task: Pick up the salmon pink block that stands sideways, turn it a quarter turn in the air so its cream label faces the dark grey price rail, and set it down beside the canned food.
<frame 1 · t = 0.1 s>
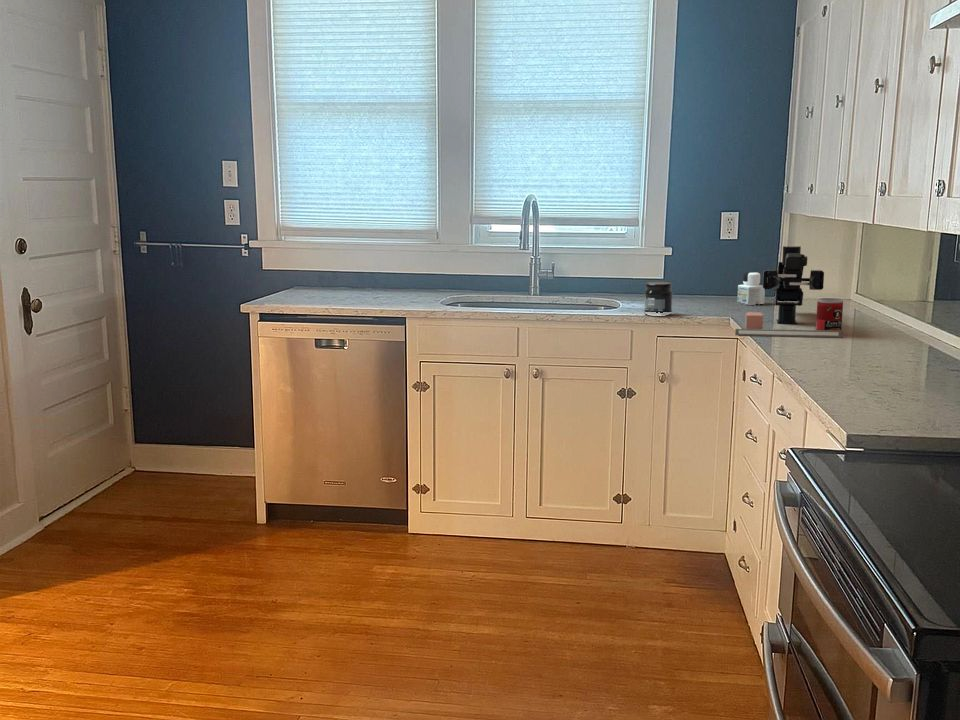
hand: (795, 282, 283), 17 cm above the countertop, tool horizontal, fingers open, 9 cm apart
canned food: (828, 334, 285), on the countertop
price rail: (787, 336, 282), on the countertop
supplement container: (657, 315, 335), on the countertop
salmon pink block: (753, 332, 292), on the countertop
container: (750, 304, 360), on the countertop
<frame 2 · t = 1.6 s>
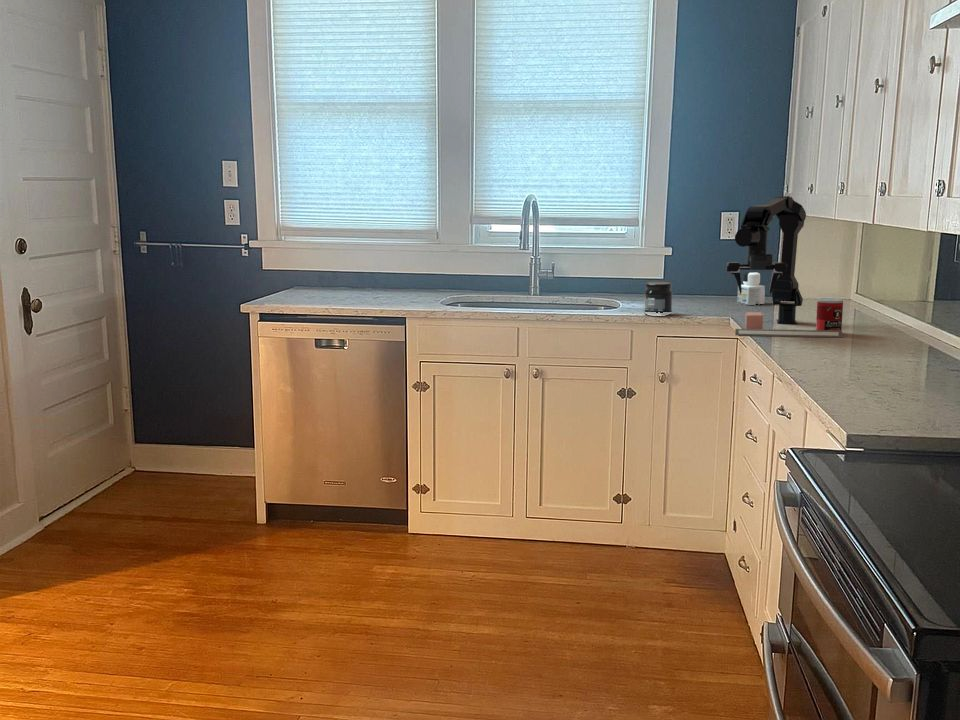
hand: (755, 293, 289), 13 cm above the countertop, tool pointing down, fingers open, 9 cm apart
nothing on the countertop moved.
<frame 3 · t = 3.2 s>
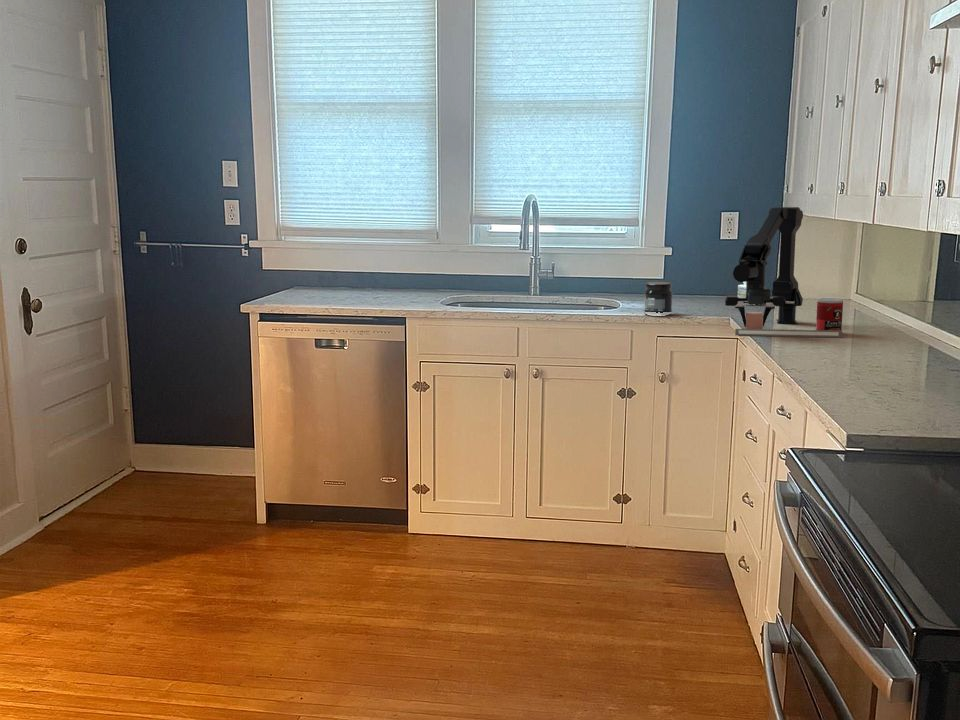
hand: (753, 327, 292), 2 cm above the countertop, tool pointing down, fingers closed on salmon pink block, 5 cm apart
salmon pink block: (753, 331, 292), on the countertop, touching gripper
everything else where it was.
when the fingers open (3 cm above the countertop, at t = 6.9 s): salmon pink block drops 2 cm, on the countertop.
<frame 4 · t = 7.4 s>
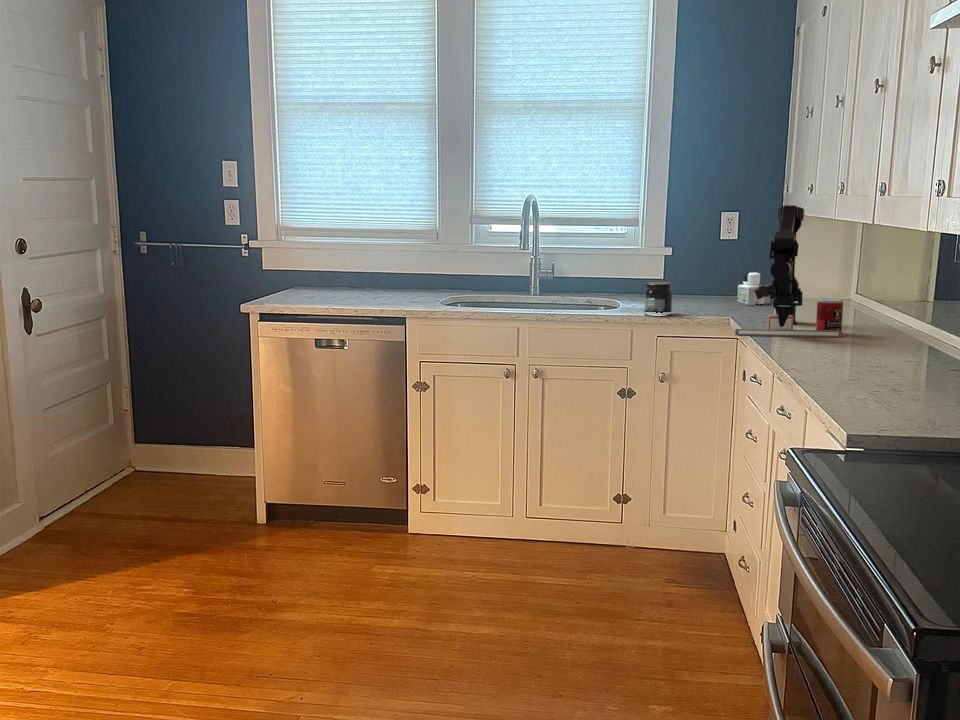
hand: (780, 324, 286), 3 cm above the countertop, tool pointing down, fingers open, 9 cm apart
salmon pink block: (779, 334, 287), on the countertop
everything else where it was.
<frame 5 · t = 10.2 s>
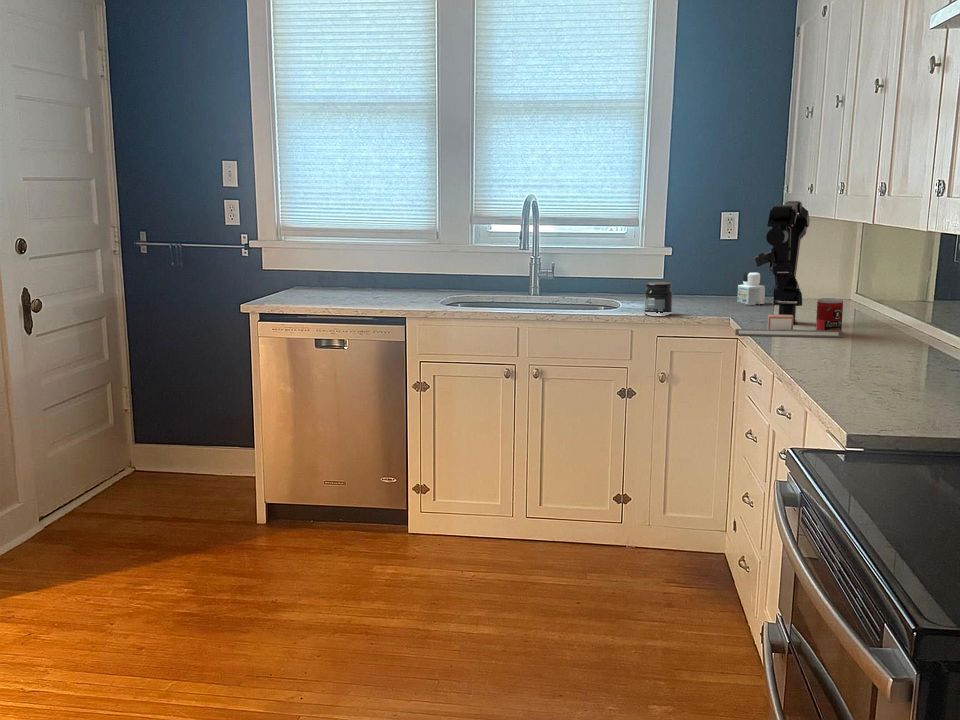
hand: (779, 291, 294), 13 cm above the countertop, tool pointing down, fingers open, 9 cm apart
nothing on the countertop moved.
at the end: salmon pink block 0.2 cm from the target spot, on the countertop; salmon pink block tilted 0°; the gripper is holding nothing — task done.
